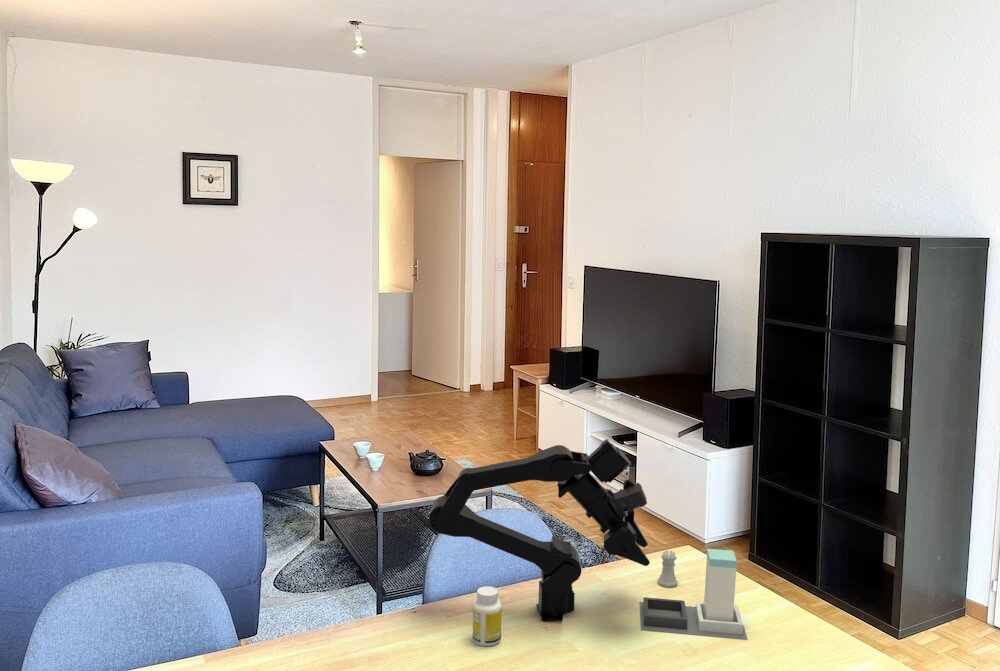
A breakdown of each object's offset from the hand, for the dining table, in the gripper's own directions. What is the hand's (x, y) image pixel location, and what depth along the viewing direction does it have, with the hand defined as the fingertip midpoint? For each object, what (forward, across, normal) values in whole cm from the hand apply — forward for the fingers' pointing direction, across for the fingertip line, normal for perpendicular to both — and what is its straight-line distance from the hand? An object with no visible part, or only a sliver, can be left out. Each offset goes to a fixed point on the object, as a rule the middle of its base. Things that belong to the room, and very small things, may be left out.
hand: (647, 554), depth 163 cm
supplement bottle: (-11, -13, +31) cm, 36 cm away
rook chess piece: (+14, +16, +6) cm, 21 cm away
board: (+16, -1, +3) cm, 16 cm away
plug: (+19, -1, -1) cm, 19 cm away
